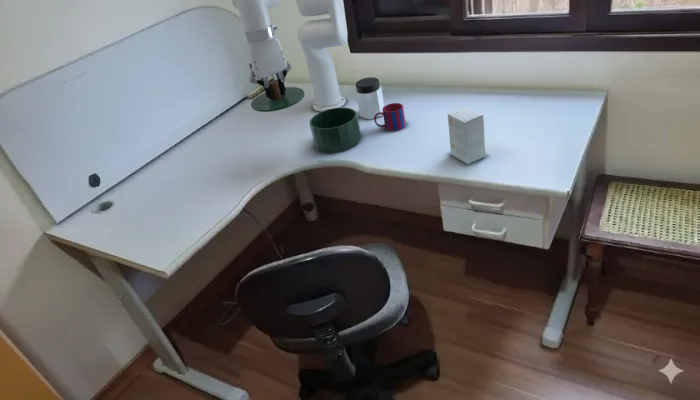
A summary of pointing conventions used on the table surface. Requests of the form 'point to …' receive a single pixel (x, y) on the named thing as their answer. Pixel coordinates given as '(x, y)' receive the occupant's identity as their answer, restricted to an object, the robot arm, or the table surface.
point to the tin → (335, 130)
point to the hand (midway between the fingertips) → (276, 96)
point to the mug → (392, 117)
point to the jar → (369, 97)
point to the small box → (466, 134)
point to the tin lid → (277, 98)
